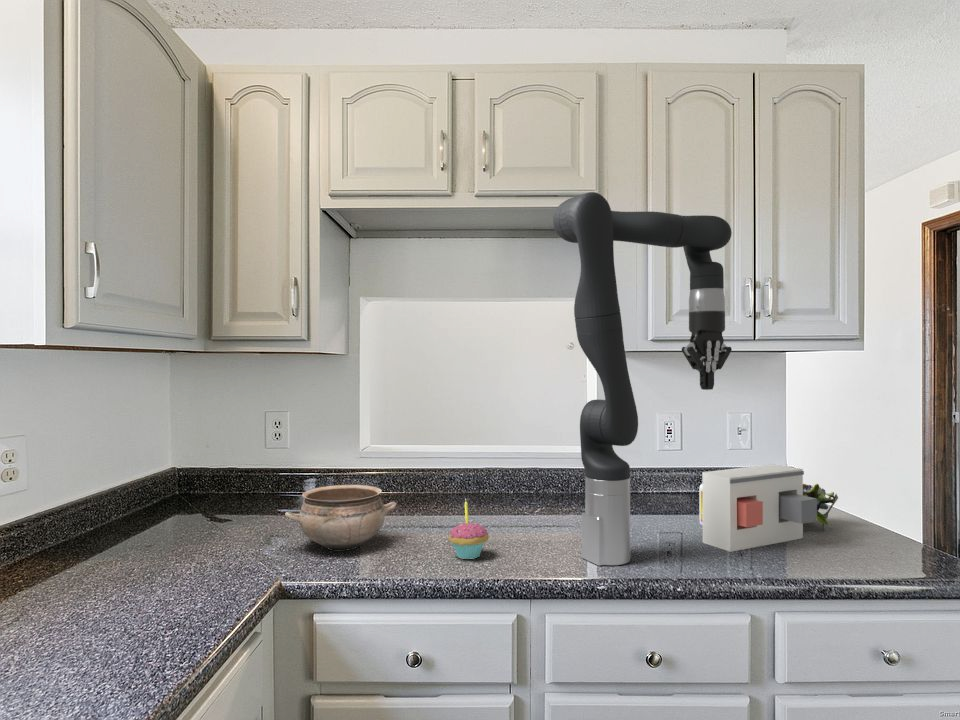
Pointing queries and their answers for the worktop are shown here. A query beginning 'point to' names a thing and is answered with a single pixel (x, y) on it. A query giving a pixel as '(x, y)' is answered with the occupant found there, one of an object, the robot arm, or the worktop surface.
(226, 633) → the worktop surface
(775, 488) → the push button box
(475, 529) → the cupcake
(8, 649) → the worktop surface
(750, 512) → the red button
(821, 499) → the passion flower
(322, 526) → the cooking pot
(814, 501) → the grey button
